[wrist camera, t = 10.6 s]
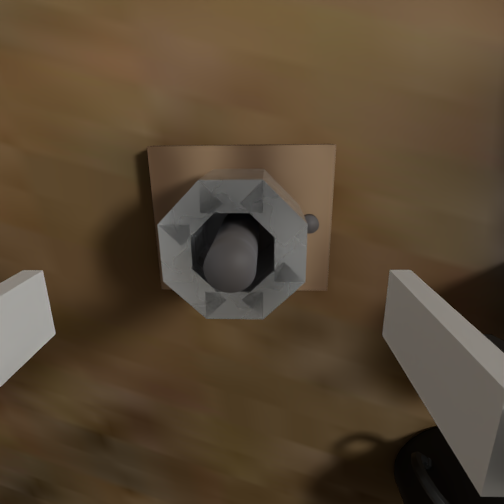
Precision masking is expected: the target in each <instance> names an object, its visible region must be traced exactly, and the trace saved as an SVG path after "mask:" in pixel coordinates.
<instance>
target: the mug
mask: <svg viewBox="0 0 504 504" xmlns="http://www.w3.org/2000/svg"><path fill="white" fill-rule="evenodd" d="M394 475H395V480H396V483H397V486H398V488H399V491H400V494H401V496H402V499H403V502H404V504H504V497H481V496H480V495H479V493H478V492H477V490H476V488H475V487H474V485H473V483H472V482H471V480H470V478H469V477H468V475H467V473H466V472H465V470H464V469H463V467H462V465H461V464H460V462H459V460H458V459H457V457H456V455H455V454H454V452H453V451H452V449H451V447H450V446H449V444H448V442H447V441H446V439H445V437H444V436H443V434H442V432H441V431H440V429H439V428H434V429H430V430H428V431H425V432H423V433H421V434H419V435H417V436H416V437H414V438H413V439H411V440H410V441H409V442H408V443H407V444H406V445H405V446H404V447H403V448H402V449H401V451H400V452H399V454H398V456H397V458H396V462H395V469H394Z"/></svg>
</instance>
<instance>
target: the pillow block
mask: <svg viewBox="0 0 504 504" xmlns="http://www.w3.org/2000/svg"><path fill="white" fill-rule="evenodd" d="M147 152H148V162H149V172H150V182H151V191H152V201H153V211H154V221H155V230H156V240H157V250H158V260H159V270H160V279H161V289H170V290H172V289H171V288H170V287H169V286H168V285H167V284H165V283H164V282H163V275H162V265H161V255H160V245H159V236H158V226H157V225H158V223H159V222H160V221H161V220H162V219H163V218H164V217H165V216H166V215H167V214H168V212H169V211H170V210H171V209H172V208H173V207H174V206H175V205H176V204H177V203H178V202H179V200H180V199H181V198H182V197H183V196H184V195H185V194H186V193H187V192H188V191H189V190H190V188H191V187H192V186H193V185H194V184H195V183H196V182H197V181H198V180H199V179H200V178H202V177H203V176H205V175H206V174H207V173H209V172H210V171H212V170H213V169H265V170H266V171H267V172H268V174H269V175H270V176H271V177H272V178H273V179H274V180H275V181H276V182H277V183H278V184H279V185H280V186H281V187H282V188H283V189H284V190H285V191H286V192H287V193H288V194H289V195H290V196H291V197H292V198H293V199H294V200H295V201H296V202H297V203H298V204H299V206H300V208H301V210H302V213H303V215H304V217H305V219H306V222H307V224H308V229H307V254H306V279H305V283H304V284H303V285H302V286H300V287H299V288H298V289H297V290H325V291H327V285H328V269H329V253H330V237H331V221H332V205H333V189H334V173H335V157H336V145H335V144H279V145H183V146H149V147H147ZM207 234H208V242H209V243H210V244H211V247H210V249H209V251H208V253H207V256H206V258H205V260H204V265H203V270H204V274H205V277H206V279H207V281H208V282H209V283H210V284H211V285H212V286H213V287H214V288H216V289H217V290H219V291H222V292H226V293H235V292H239V291H242V290H244V289H246V288H247V287H248V286H249V285H250V284H251V283H252V282H253V280H254V278H255V275H256V267H257V256H258V255H259V254H260V253H261V252H262V251H263V250H264V249H265V248H266V247H267V246H268V245H269V244H270V243H272V242H273V235H272V234H271V233H270V232H268V231H267V230H266V229H265V228H264V227H263V226H262V225H261V224H260V223H259V222H258V221H257V220H256V219H255V218H254V217H253V216H252V215H251V214H250V213H213V214H212V215H211V217H210V218H209V219H208V220H207Z"/></svg>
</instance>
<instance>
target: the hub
mask: <svg viewBox="0 0 504 504" xmlns="http://www.w3.org/2000/svg"><path fill="white" fill-rule="evenodd" d="M213 213H250V214H251V215H252V216H253V217H254V218H255V219H256V220H257V221H258V222H259V223H260V224H261V225H262V226H263V227H264V228H265V229H266V230H267V231H268V232H270V233H271V234H272V235H273V242H272V243H270V244H269V245H268V246H267V247H266V248H265V249H264V250H263V251H262V252H261V253H260V254H259V255H258V256H257V267H256V275H255V278H254V280H253V282H252V283H251V284H250V285H249V286H248V287H247V288H246V289H244V290H242V291H239V292H235V293H226V292H222V291H219V290H217V289H216V288H214V287H213V286H212V285H211V284H210V283H209V282H208V281H207V279H206V277H205V274H204V270H203V265H204V260H205V258H206V256H207V253H208V251H209V249H210V247H211V244H210V243H209V242H208V234H207V220H208V219H209V218H210V217H211V215H212V214H213ZM157 226H158V236H159V245H160V255H161V265H162V275H163V282H164V283H165V284H167V285H168V286H169V287H170V288H171V289H172V290H174V291H175V292H176V293H177V294H178V295H179V296H181V297H182V298H183V299H184V300H185V301H187V302H188V303H189V304H190V305H191V306H192V307H194V308H195V309H196V310H197V311H198V312H199V313H201V314H202V315H203V316H204V317H205V318H206V319H264V318H265V317H266V316H267V315H269V314H270V313H271V312H272V311H273V310H274V309H275V308H277V307H278V306H279V305H280V304H281V303H282V302H283V301H285V300H286V299H287V298H288V297H289V296H290V295H291V294H293V293H294V292H295V291H296V290H297V289H298V288H299V287H300V286H302V285H303V284H304V283H305V279H306V254H307V229H308V224H307V222H306V219H305V217H304V215H303V213H302V210H301V208H300V206H299V204H298V203H297V202H296V201H295V200H294V199H293V198H292V197H291V196H290V195H289V194H288V193H287V192H286V191H285V190H284V189H283V188H282V187H281V186H280V185H279V184H278V183H277V182H276V181H275V180H274V179H273V178H272V177H271V176H270V175H269V174H268V172H267V171H266V170H265V169H213V170H212V171H210V172H209V173H207V174H206V175H205V176H203V177H202V178H200V179H199V180H198V181H197V182H196V183H195V184H194V185H193V186H192V187H191V188H190V190H189V191H188V192H187V193H186V194H185V195H184V196H183V197H182V198H181V199H180V200H179V202H178V203H177V204H176V205H175V206H174V207H173V208H172V209H171V210H170V211H169V212H168V214H167V215H166V216H165V217H164V218H163V219H162V220H161V221H160V222H159V223H158V225H157Z"/></svg>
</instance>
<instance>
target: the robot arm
mask: <svg viewBox="0 0 504 504" xmlns="http://www.w3.org/2000/svg"><path fill="white" fill-rule="evenodd" d="M55 334H56V333H55V328H54V323H53V318H52V313H51V308H50V303H49V298H48V294H47V289H46V284H45V279H44V274H43V270H23V271H21V272H19V273H18V274H16V275H14V276H12V277H10V278H9V279H7V280H5V281H3V282H1V283H0V387H1V386H2V385H3V384H4V383H5V382H6V381H7V380H8V379H9V378H10V377H11V376H12V375H13V374H14V373H15V372H16V371H17V370H19V369H20V368H21V367H22V366H23V365H24V364H25V363H26V362H27V361H28V360H29V359H30V358H31V357H32V356H33V355H34V354H35V353H36V352H37V351H38V350H39V349H41V348H42V347H43V346H44V345H45V344H46V343H47V342H48V341H49V340H50V339H51V338H52V337H53V336H54V335H55ZM382 336H383V337H384V339H385V341H386V342H387V344H388V346H389V347H390V349H391V350H392V352H393V354H394V355H395V357H396V359H397V360H398V362H399V364H400V365H401V367H402V369H403V370H404V372H405V373H406V375H407V377H408V378H409V380H410V382H411V383H412V385H413V387H414V388H415V390H416V391H417V393H418V395H419V396H420V398H421V400H422V401H423V403H424V405H425V406H426V408H427V410H428V411H429V413H430V414H431V416H432V418H433V419H434V421H435V423H436V424H437V426H438V428H439V429H440V431H441V432H442V434H443V436H444V437H445V439H446V441H447V442H448V444H449V446H450V447H451V449H452V451H453V452H454V454H455V455H456V457H457V459H458V460H459V462H460V464H461V465H462V467H463V469H464V470H465V472H466V473H467V475H468V477H469V478H470V480H471V482H472V483H473V485H474V487H475V488H476V490H477V492H478V493H479V495H480V496H481V497H504V341H503V340H501V339H499V338H497V337H495V336H493V335H491V334H482V333H481V332H480V331H479V330H477V329H476V328H475V327H474V326H473V325H472V324H471V323H470V322H468V321H467V320H466V319H465V318H464V317H463V316H462V315H461V314H459V313H458V312H457V311H456V310H455V309H454V308H453V307H452V306H450V305H449V304H448V303H447V302H446V301H445V300H444V299H443V298H441V297H440V296H439V295H438V294H437V293H436V292H435V291H434V290H432V289H431V288H430V287H429V286H428V285H427V284H426V283H425V282H424V281H422V280H421V279H420V278H419V277H418V276H417V275H416V274H415V273H413V272H412V271H411V270H390V272H389V281H388V290H387V298H386V307H385V315H384V324H383V333H382Z"/></svg>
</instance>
